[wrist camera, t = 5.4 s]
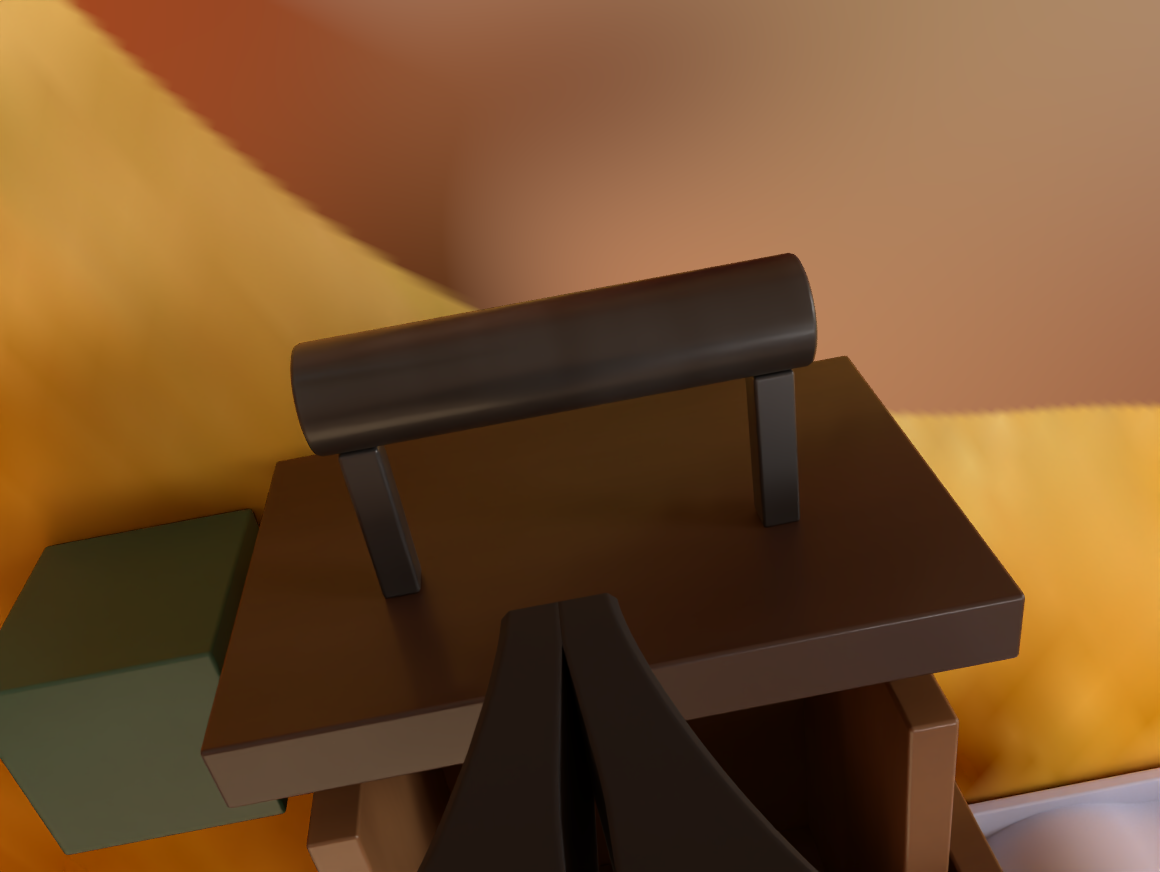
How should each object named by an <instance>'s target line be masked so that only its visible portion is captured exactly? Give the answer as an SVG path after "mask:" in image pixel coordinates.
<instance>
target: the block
mask: <svg viewBox="0 0 1160 872" xmlns="http://www.w3.org/2000/svg"><path fill="white" fill-rule="evenodd" d="M258 531H259V527H258V524H257V522H256V519H255V517H254V514H253V512H252V510H251V509H245V510H240V511H235V512H229V513H224V514H219V515H213V516H208V517H203V518H197V519H192V520H187V521H181V522H176V523H171V524H165V525H160V526H155V527H149V528H144V529H139V530H133V531H128V532H122V533H117V534H112V535H106V536H101V537H96V538H90V539H85V540H80V541H74V542H69V543H64V544H58V545H53V546H48V547H46V548H45V549H44V551H43V553H42V555H41V556H40V558H39V560H38V562H37V564H36V566H35V567H34V569H33V571H32V573H31V575H30V576H29V578H28V580H27V582H26V584H25V586H24V587H23V589H22V591H21V593H20V595H19V596H18V598H17V600H16V602H15V604H14V606H13V607H12V609H11V611H10V613H9V615H8V617H7V618H6V620H5V622H4V624H3V626H2V627H1V629H0V758H1V760H2V761H3V763H4V764H5V766H6V767H7V769H8V770H9V772H10V773H11V775H12V776H13V778H14V779H15V781H16V782H17V784H18V785H19V787H20V788H21V789H22V791H23V792H24V794H25V795H26V797H27V798H28V800H29V801H30V803H31V804H32V806H33V807H34V809H35V810H36V812H37V813H38V815H39V816H40V818H41V819H42V821H43V822H44V824H45V825H46V827H47V828H48V830H49V831H50V832H51V834H52V835H53V837H54V838H55V840H56V841H57V843H58V844H59V846H60V847H61V849H62V850H63V852H64V853H65V854H66V855H71V854H76V853H81V852H86V851H91V850H97V849H102V848H107V847H112V846H117V845H123V844H128V843H133V842H138V841H143V840H149V839H154V838H159V837H164V836H169V835H175V834H180V833H185V832H190V831H195V830H201V829H206V828H211V827H216V826H221V825H227V824H232V823H237V822H242V821H247V820H252V819H258V818H263V817H268V816H273V815H278V814H283V813H285V811H286V807H287V801H288V797H287V798H282V799H277V800H272V801H266V802H261V803H256V804H251V805H246V806H240V807H235V808H229V807H227V805H226V803H225V801H224V800H223V798H222V796H221V794H220V792H219V790H218V788H217V786H216V784H215V782H214V780H213V778H212V776H211V774H210V772H209V770H208V769H207V767H206V765H205V763H204V761H203V759H202V757H201V754H200V752H201V747H202V743H203V740H204V736H205V732H206V728H207V724H208V721H209V717H210V713H211V709H212V705H213V702H214V698H215V694H216V690H217V686H218V683H219V679H220V675H221V671H222V667H223V664H224V660H225V656H226V652H227V648H228V645H229V641H230V637H231V633H232V629H233V626H234V622H235V618H236V614H237V610H238V607H239V603H240V599H241V595H242V592H243V588H244V584H245V580H246V576H247V573H248V569H249V565H250V561H251V557H252V554H253V550H254V546H255V542H256V538H257V535H258Z"/></svg>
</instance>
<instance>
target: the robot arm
mask: <svg viewBox="0 0 1160 872" xmlns="http://www.w3.org/2000/svg"><path fill="white" fill-rule="evenodd" d="M594 797H595V801H596V805H597V809H598V813H599V817H600V821H601V825H602V829H603V833H604V836H605V840H606V844H607V848H608V852H609V856H610V860H611V864H612V868H613V872H818V871H817V870H816V869H815V868H814V867H813V866H812V865H811V864H810V863H809V862H808V861H807V860H806V859H805V858H804V857H803V856H802V855H801V854H800V853H799V852H798V851H797V850H796V849H795V848H794V847H793V846H792V845H791V844H790V843H789V842H788V841H787V840H786V839H785V838H784V837H783V836H782V835H781V834H780V833H779V832H778V831H777V830H776V829H775V828H774V827H773V825H772V824H771V823H770V822H769V821H768V820H767V819H766V818H765V817H764V816H763V815H762V814H761V812H760V811H759V810H758V809H757V808H756V807H755V806H754V805H753V804H752V803H751V802H750V800H749V799H748V798H747V797H746V796H745V795H744V794H743V792H742V791H741V790H740V789H739V788H738V787H737V785H736V784H735V783H734V782H733V781H732V779H731V778H730V777H729V776H728V775H727V774H726V772H725V771H724V770H723V769H722V767H721V766H720V765H719V764H718V762H717V761H716V760H715V759H714V757H713V756H712V755H711V753H710V752H709V751H708V750H707V748H706V747H705V746H704V745H703V743H702V742H701V741H700V739H699V738H698V737H697V735H696V734H695V733H694V731H693V730H692V729H691V727H690V726H689V725H688V723H687V722H686V721H685V719H684V718H683V716H682V715H681V713H680V712H679V710H678V709H677V707H676V706H675V704H674V703H673V702H672V700H671V699H670V697H669V696H668V694H667V693H666V691H665V690H664V688H663V687H662V685H661V684H660V682H659V681H658V679H657V678H656V676H655V674H654V673H653V671H652V670H651V668H650V666H649V665H648V663H647V661H646V659H645V658H644V656H643V654H642V652H641V651H640V649H639V647H638V645H637V643H636V642H635V640H634V638H633V636H632V634H631V632H630V630H629V628H628V626H627V624H626V621H625V619H624V616H623V614H622V612H621V609H620V606H619V603H618V600H617V598H615V597H614V596H612V595H610V594H609V593H602V594H597V595H592V596H586V597H581V598H575V599H570V600H565V601H559V602H554V603H549V604H543V605H538V606H532V607H527V608H522V609H516V610H511V611H508V612H507V613H506V615H505V616H504V617H503V618H502V619H501V625H500V634H499V640H498V645H497V651H496V655H495V660H494V664H493V669H492V673H491V677H490V680H489V684H488V688H487V692H486V695H485V699H484V702H483V705H482V709H481V712H480V715H479V718H478V721H477V724H476V727H475V730H474V734H473V737H472V740H471V743H470V746H469V749H468V752H467V755H466V757H465V760H464V763H463V765H462V768H461V771H460V773H459V776H458V778H457V781H456V783H455V786H454V788H453V791H452V793H451V796H450V798H449V801H448V804H447V806H446V809H445V811H444V814H443V816H442V818H441V821H440V823H439V825H438V828H437V830H436V832H435V834H434V837H433V839H432V841H431V843H430V846H429V848H428V850H427V852H426V854H425V856H424V858H423V861H422V863H421V865H420V867H419V869H418V871H417V872H599V867H598V850H597V833H596V817H595V801H594ZM968 806H969V808H970V810H971V812H972V813H973V815H974V817H975V819H976V821H977V823H978V825H979V827H980V829H981V830H982V832H983V834H984V836H985V838H986V840H987V842H988V844H989V846H990V848H991V849H992V851H993V853H994V855H995V857H996V859H997V861H998V863H999V865H1000V867H1001V868H1002V870H1003V872H1160V767H1159V768H1154V769H1149V770H1144V771H1138V772H1133V773H1128V774H1123V775H1118V776H1113V777H1108V778H1102V779H1097V780H1092V781H1087V782H1082V783H1077V784H1072V785H1066V786H1061V787H1056V788H1051V789H1046V790H1041V791H1036V792H1031V793H1025V794H1020V795H1015V796H1010V797H1005V798H1000V799H995V800H989V801H984V802H979V803H974V804H969V805H968Z"/></svg>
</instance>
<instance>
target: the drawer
mask: <svg viewBox="0 0 1160 872" xmlns="http://www.w3.org/2000/svg"><path fill="white" fill-rule="evenodd" d="M816 347H817V321H816V312H815V306H814V301H813V296H812V291H811V287H810V284H809V281H808V277H807V275H806V272H805V270H804V268H803V266H802V264H801V262H800V260H799V259H798V258H797V257H796V255H794V254H790V253H786V254H780V255H775V256H769V257H764V258H759V259H753V260H748V261H742V262H737V263H731V264H726V265H721V266H715V267H710V268H704V269H699V270H694V271H689V272H683V273H677V274H672V275H666V276H661V277H656V278H651V279H645V280H639V281H634V282H629V283H623V284H618V285H612V286H607V287H602V288H596V289H591V290H585V291H580V292H574V293H569V294H564V295H558V296H553V297H547V298H542V299H536V300H532V301H526V302H521V303H515V304H509V305H504V306H499V307H493V308H488V309H482V310H477V311H472V312H466V313H461V314H455V315H450V316H444V317H439V318H434V319H428V320H423V321H417V322H412V323H407V324H401V325H396V326H390V327H385V328H380V329H374V330H369V331H363V332H358V333H352V334H347V335H342V336H336V337H331V338H325V339H320V340H315V341H309V342H304V343H299V344H298V345H296V346H295V347H294V348H293V351H292V355H291V366H290V372H291V385H292V392H293V398H294V403H295V408H296V412H297V416H298V419H299V423H300V426H301V429H302V431H303V434H304V436H305V439H306V441H307V443H308V444H309V446H310V448H311V450H312V451H313V452H314V453H315V454H316V455H311V456H306V457H300V458H295V459H289V460H284V461H279V462H277V463H276V466H275V470H274V474H273V478H272V481H271V485H270V489H269V493H268V497H267V500H266V504H265V508H264V512H263V516H262V519H261V523H260V527H259V531H258V535H257V538H256V542H255V546H254V550H253V554H252V557H251V561H250V565H249V569H248V573H247V576H246V580H245V584H244V588H243V592H242V595H241V599H240V603H239V607H238V610H237V614H236V618H235V622H234V626H233V629H232V633H231V637H230V641H229V645H228V648H227V652H226V656H225V660H224V664H223V667H222V671H221V675H220V679H219V683H218V686H217V690H216V694H215V698H214V702H213V705H212V709H211V713H210V717H209V721H208V724H207V728H206V732H205V736H204V740H203V743H202V747H201V752H200V754H201V757H202V759H203V761H204V763H205V765H206V767H207V769H208V770H209V772H210V774H211V776H212V778H213V780H214V782H215V784H216V786H217V788H218V790H219V792H220V794H221V796H222V798H223V800H224V801H225V803H226V805H227V807H229V808H235V807H240V806H246V805H251V804H256V803H261V802H266V801H272V800H277V799H282V798H287V797H292V796H298V795H303V794H308V793H313V792H314V795H313V802H312V809H311V817H310V824H309V831H308V839H307V849H308V851H309V853H310V855H311V857H312V860H313V862H314V864H315V866H316V868H317V870H318V872H417V871H418V869H419V867H420V865H421V863H422V861H423V858H424V856H425V854H426V852H427V850H428V848H429V846H430V843H431V841H432V839H433V837H434V834H435V832H436V830H437V828H438V825H439V823H440V821H441V818H442V816H443V814H444V811H445V809H446V806H447V804H448V801H449V798H450V796H451V793H452V791H453V788H454V786H455V783H456V781H457V778H458V776H459V773H460V771H461V768H462V765H463V763H464V760H465V757H466V755H467V752H468V749H469V746H470V743H471V740H472V737H473V734H474V730H475V727H476V724H477V721H478V718H479V715H480V712H481V709H482V705H483V702H484V699H485V695H486V692H487V688H488V684H489V680H490V677H491V673H492V669H493V664H494V660H495V655H496V651H497V645H498V640H499V634H500V625H501V619H502V618H503V617H504V616H505V615H506V613H507V612H508V611H511V610H516V609H522V608H527V607H532V606H538V605H543V604H549V603H554V602H559V601H565V600H570V599H575V598H581V597H586V596H592V595H597V594H602V593H609V594H610V595H612V596H614V597H615V598H617V600H618V603H619V606H620V609H621V612H622V614H623V616H624V619H625V621H626V624H627V626H628V628H629V630H630V632H631V634H632V636H633V638H634V640H635V642H636V643H637V645H638V647H639V649H640V651H641V652H642V654H643V656H644V658H645V659H646V661H647V663H648V665H649V666H650V668H651V670H652V671H653V673H654V674H655V676H656V678H657V679H658V681H659V682H660V684H661V685H662V687H663V688H664V690H665V691H666V693H667V694H668V696H669V697H670V699H671V700H672V702H673V703H674V704H675V706H676V707H677V709H678V710H679V712H680V713H681V715H682V716H683V718H684V719H685V721H686V722H687V723H688V725H689V726H690V727H691V729H692V730H693V731H694V733H695V734H696V735H697V737H698V738H699V739H700V741H701V742H702V743H703V745H704V746H705V747H706V748H707V750H708V751H709V752H710V753H711V755H712V756H713V757H714V759H715V760H716V761H717V762H718V764H719V765H720V766H721V767H722V769H723V770H724V771H725V772H726V774H727V775H728V776H729V777H730V778H731V779H732V781H733V782H734V783H735V784H736V785H737V787H738V788H739V789H740V790H741V791H742V792H743V794H744V795H745V796H746V797H747V798H748V799H749V800H750V802H751V803H752V804H753V805H754V806H755V807H756V808H757V809H758V810H759V811H760V812H761V814H762V815H763V816H764V817H765V818H766V819H767V820H768V821H769V822H770V823H771V824H772V825H773V827H774V828H775V829H776V830H777V831H778V832H779V833H780V834H781V835H782V836H783V837H784V838H785V839H786V840H787V841H788V842H789V843H790V844H791V845H792V846H793V847H794V848H795V849H796V850H797V851H798V852H799V853H800V854H801V855H802V856H803V857H804V858H805V859H806V860H807V861H808V862H809V863H810V864H811V865H812V866H813V867H814V868H815V869H816V870H817V871H818V872H948V865H949V851H950V837H951V824H952V810H953V796H954V783H955V769H956V755H957V742H958V728H959V719H958V718H957V716H956V714H955V712H954V711H953V709H952V707H951V705H950V704H949V702H948V700H947V698H946V697H945V695H944V693H943V691H942V689H941V688H940V686H939V684H938V682H937V681H936V679H935V677H934V675H933V674H932V673H937V672H943V671H948V670H953V669H958V668H963V667H969V666H974V665H979V664H984V663H989V662H995V661H1000V660H1005V659H1010V658H1015V657H1017V656H1018V654H1019V646H1020V637H1021V628H1022V619H1023V610H1024V602H1025V596H1024V594H1023V592H1022V591H1021V589H1020V588H1019V587H1018V585H1017V584H1016V583H1015V581H1014V580H1013V579H1012V577H1011V576H1010V575H1009V573H1008V572H1007V571H1006V569H1005V568H1004V567H1003V565H1002V564H1001V563H1000V561H999V560H998V558H997V557H996V556H995V554H994V553H993V552H992V550H991V549H990V548H989V546H988V545H987V544H986V542H985V541H984V540H983V538H982V537H981V536H980V534H979V533H978V532H977V530H976V529H975V527H974V526H973V525H972V523H971V522H970V521H969V519H968V518H967V517H966V515H965V514H964V513H963V511H962V510H961V509H960V507H959V506H958V505H957V503H956V502H955V501H954V499H953V498H952V496H951V495H950V494H949V492H948V491H947V490H946V488H945V487H944V486H943V484H942V483H941V482H940V480H939V479H938V478H937V476H936V475H935V474H934V472H933V471H932V470H931V468H930V467H929V465H928V464H927V463H926V461H925V460H924V459H923V457H922V456H921V455H920V453H919V452H918V451H917V449H916V448H915V447H914V445H913V444H912V443H911V441H910V440H909V439H908V437H907V436H906V434H905V433H904V432H903V430H902V429H901V428H900V426H899V425H898V424H897V422H896V421H895V420H894V418H893V417H892V416H891V414H890V413H889V412H888V410H887V409H886V408H885V406H884V405H883V404H882V402H881V401H880V399H879V398H878V397H877V395H876V394H875V393H874V391H873V390H872V389H871V388H870V386H869V385H868V383H867V382H866V381H865V379H864V378H863V377H862V375H861V374H860V373H859V371H858V370H857V369H856V367H855V366H854V364H853V363H852V362H851V360H850V359H849V358H848V357H847V356H841V357H836V358H831V359H825V360H820V361H814V362H813V360H814V358H815V354H816ZM594 801H595V797H594ZM595 817H596V833H597V850H598V867H599V872H613V868H612V864H611V860H610V856H609V852H608V848H607V844H606V840H605V836H604V833H603V829H602V825H601V821H600V817H599V813H598V809H597V805H596V801H595Z"/></svg>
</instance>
